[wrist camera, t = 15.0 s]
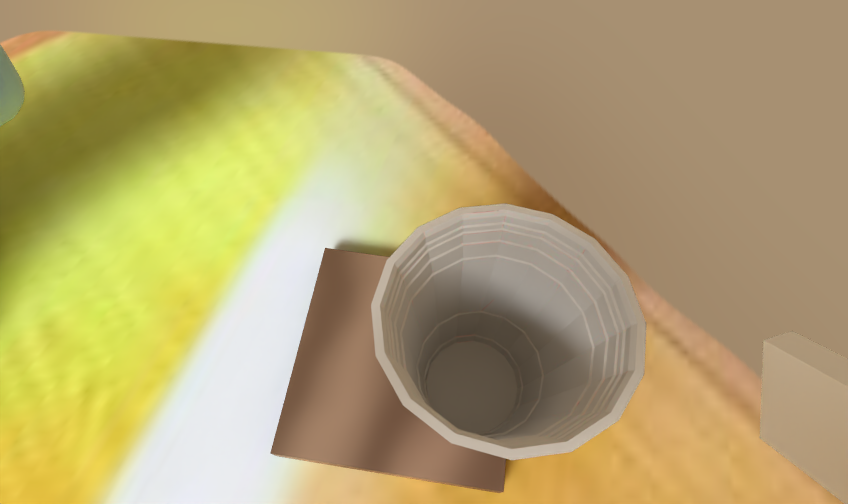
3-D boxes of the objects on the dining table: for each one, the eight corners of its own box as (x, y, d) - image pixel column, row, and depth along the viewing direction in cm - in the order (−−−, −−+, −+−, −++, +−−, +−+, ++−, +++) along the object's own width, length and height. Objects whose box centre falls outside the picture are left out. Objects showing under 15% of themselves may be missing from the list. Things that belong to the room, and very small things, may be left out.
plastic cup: (517, 277, 34) (574, 167, 23) (592, 443, 30) (705, 401, 19) (356, 325, 32) (338, 229, 21) (411, 511, 28) (422, 508, 17)
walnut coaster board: (276, 456, 30) (270, 453, 29) (328, 257, 36) (325, 247, 35) (499, 493, 30) (503, 491, 28) (515, 284, 36) (519, 275, 34)
